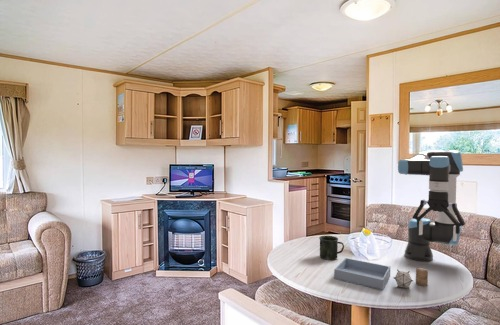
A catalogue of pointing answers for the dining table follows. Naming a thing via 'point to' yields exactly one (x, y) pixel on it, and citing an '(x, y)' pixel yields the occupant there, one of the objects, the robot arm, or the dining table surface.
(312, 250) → the dining table surface
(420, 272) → the walnut cylinder
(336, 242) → the mug
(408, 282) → the game die
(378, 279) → the tote
